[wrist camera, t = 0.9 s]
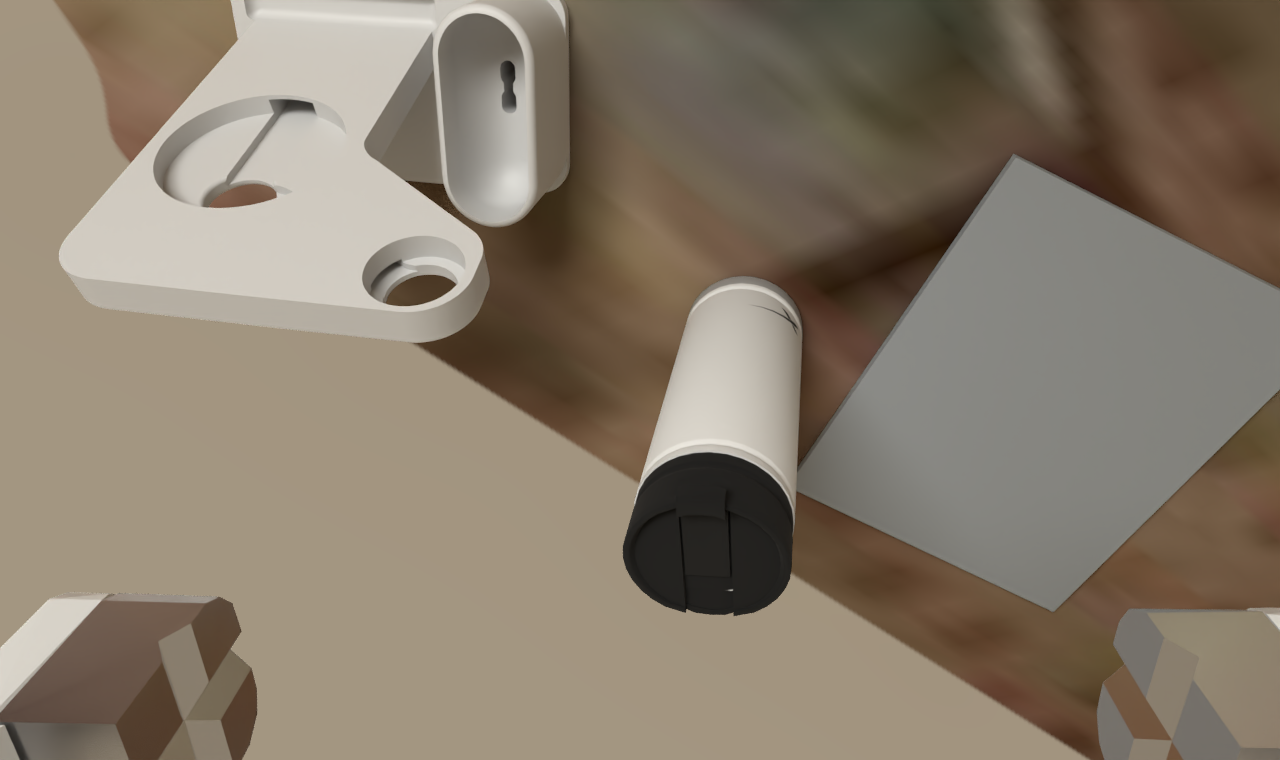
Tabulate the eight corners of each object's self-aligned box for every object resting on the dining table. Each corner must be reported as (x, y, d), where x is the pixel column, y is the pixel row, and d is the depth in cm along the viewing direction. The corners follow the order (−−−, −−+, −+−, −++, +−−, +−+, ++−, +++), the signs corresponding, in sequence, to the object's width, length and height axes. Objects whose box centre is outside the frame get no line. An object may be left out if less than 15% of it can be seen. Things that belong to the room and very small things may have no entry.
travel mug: (803, 268, 47) (793, 500, 30) (802, 378, 50) (792, 645, 33) (684, 268, 48) (609, 492, 31) (690, 376, 51) (625, 632, 34)
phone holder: (576, -15, 42) (435, 57, 27) (577, 194, 47) (459, 356, 32) (232, -34, 44) (-79, 22, 29) (269, 168, 49) (20, 306, 34)
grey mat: (1013, 153, 42) (1016, 157, 42) (1339, 318, 43) (1345, 324, 43) (788, 481, 54) (787, 486, 53) (1051, 605, 55) (1053, 612, 54)
